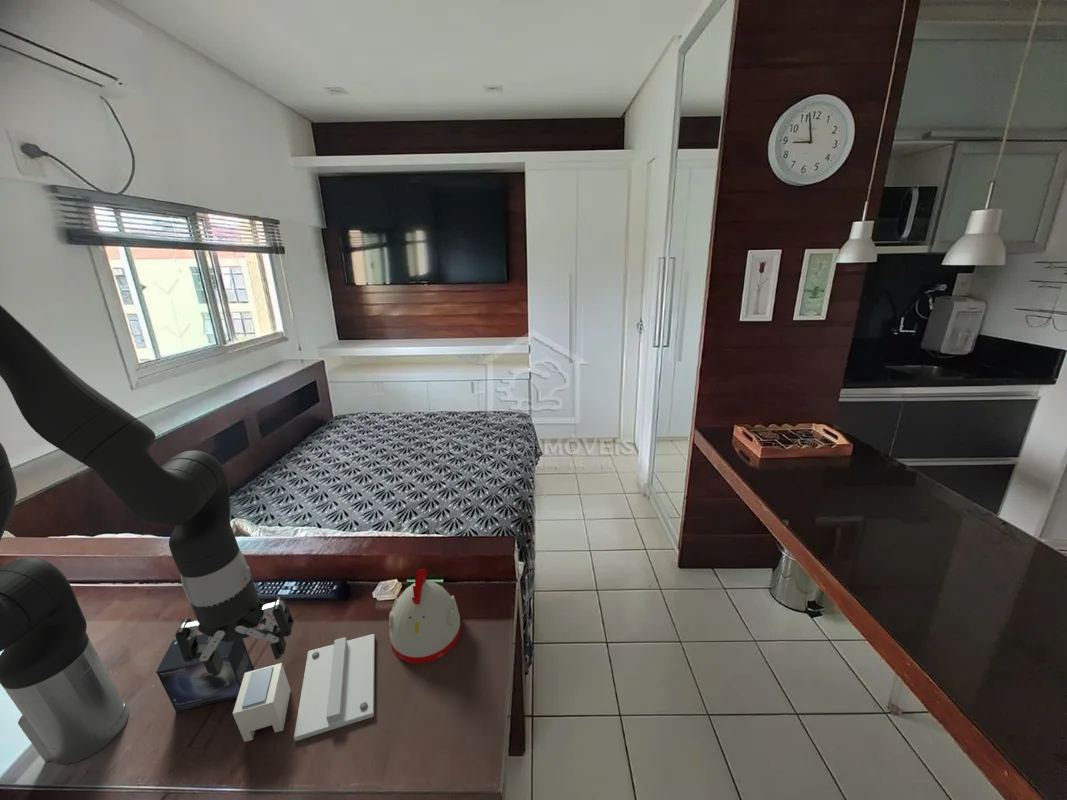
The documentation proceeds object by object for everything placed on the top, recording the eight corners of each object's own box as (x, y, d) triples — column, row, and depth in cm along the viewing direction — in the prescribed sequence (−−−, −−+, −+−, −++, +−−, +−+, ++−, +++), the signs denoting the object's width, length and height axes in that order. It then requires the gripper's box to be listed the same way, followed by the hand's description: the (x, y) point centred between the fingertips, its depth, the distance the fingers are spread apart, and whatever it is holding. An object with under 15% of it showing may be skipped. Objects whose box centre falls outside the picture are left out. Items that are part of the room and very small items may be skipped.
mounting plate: (295, 741, 70) (291, 730, 69) (309, 654, 84) (306, 645, 83) (373, 716, 74) (371, 706, 73) (374, 637, 88) (372, 627, 87)
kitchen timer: (382, 664, 82) (370, 605, 77) (400, 605, 95) (390, 550, 90) (456, 661, 83) (449, 602, 77) (464, 603, 96) (459, 548, 90)
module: (244, 742, 70) (232, 712, 68) (255, 700, 77) (244, 671, 74) (283, 730, 72) (272, 700, 69) (290, 690, 78) (281, 661, 75)
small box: (173, 716, 74) (152, 673, 70) (190, 680, 80) (171, 638, 76) (243, 698, 77) (227, 656, 73) (254, 665, 83) (239, 624, 79)
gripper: (148, 618, 58) (188, 699, 64) (268, 590, 62) (295, 669, 68) (172, 577, 65) (206, 655, 71) (279, 554, 68) (303, 630, 75)
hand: (250, 662), depth 69 cm, fingers open, 8 cm apart
